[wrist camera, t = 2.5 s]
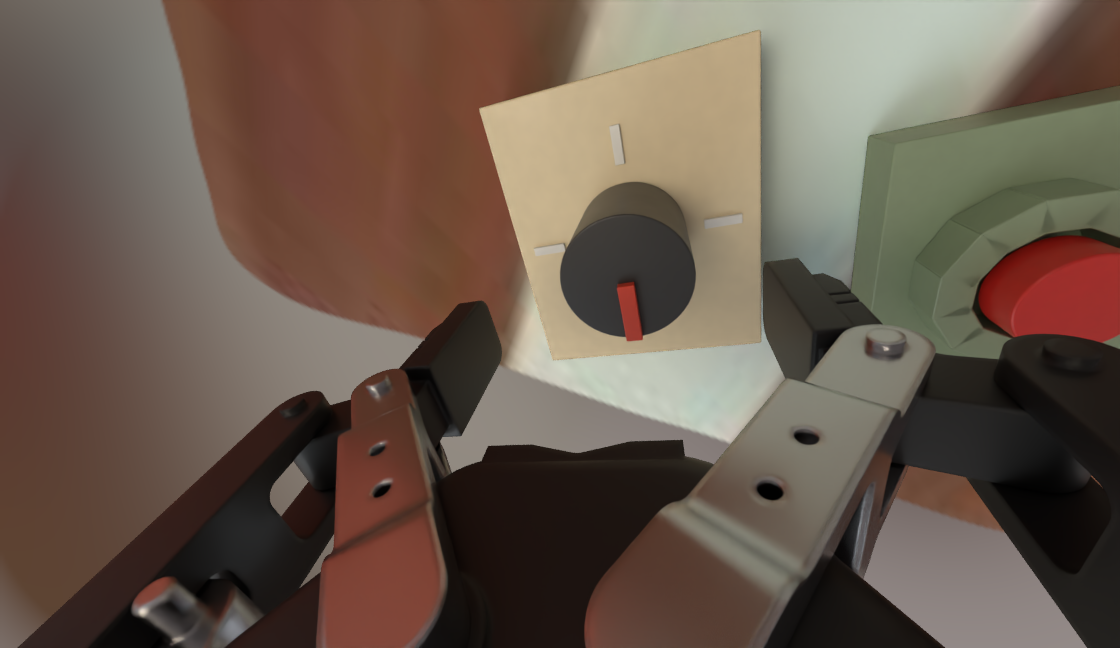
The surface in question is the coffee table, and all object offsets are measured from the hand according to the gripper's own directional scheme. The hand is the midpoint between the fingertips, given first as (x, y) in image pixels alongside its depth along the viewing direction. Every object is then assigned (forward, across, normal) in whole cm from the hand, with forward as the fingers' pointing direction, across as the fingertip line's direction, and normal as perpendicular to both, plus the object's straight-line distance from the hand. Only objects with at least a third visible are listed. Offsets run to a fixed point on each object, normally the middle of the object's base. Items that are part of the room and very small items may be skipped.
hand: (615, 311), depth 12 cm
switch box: (+9, -14, +4) cm, 17 cm away
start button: (+6, -14, +4) cm, 16 cm away
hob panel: (+9, 0, 0) cm, 9 cm away
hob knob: (+6, 0, 0) cm, 6 cm away
